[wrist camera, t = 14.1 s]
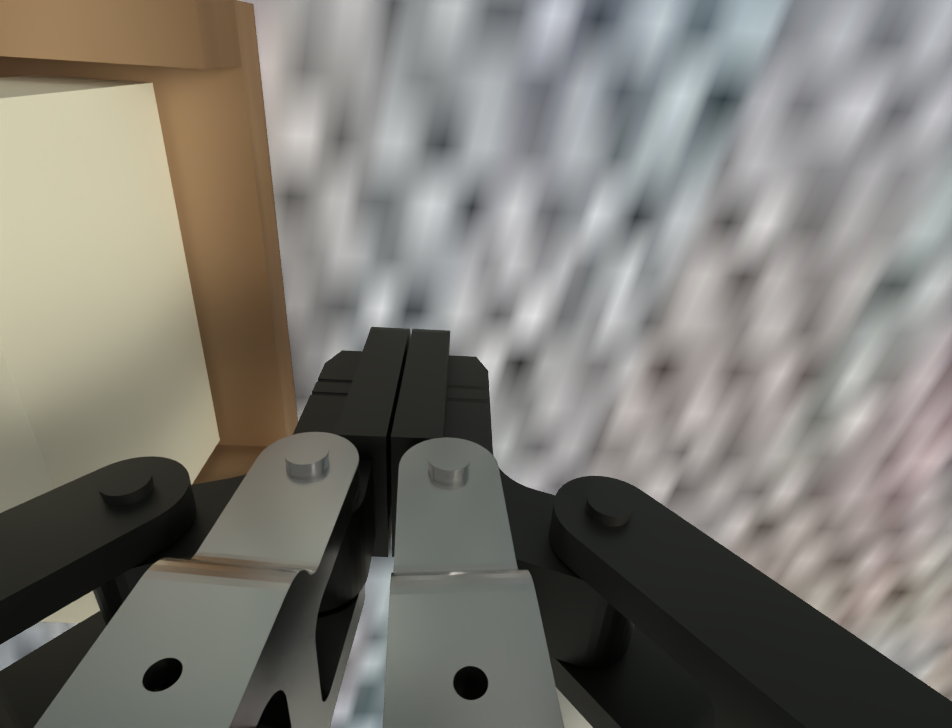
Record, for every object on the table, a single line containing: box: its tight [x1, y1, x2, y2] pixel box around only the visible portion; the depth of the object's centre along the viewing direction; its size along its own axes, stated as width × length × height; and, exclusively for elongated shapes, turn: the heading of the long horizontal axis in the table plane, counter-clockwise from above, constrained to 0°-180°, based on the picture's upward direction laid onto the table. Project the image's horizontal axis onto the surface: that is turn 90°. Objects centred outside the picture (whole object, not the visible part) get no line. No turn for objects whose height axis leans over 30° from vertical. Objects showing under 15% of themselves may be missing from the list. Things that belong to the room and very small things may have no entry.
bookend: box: [0, 75, 220, 623], centre depth 12 cm, size 2×9×6 cm, turn 177°
